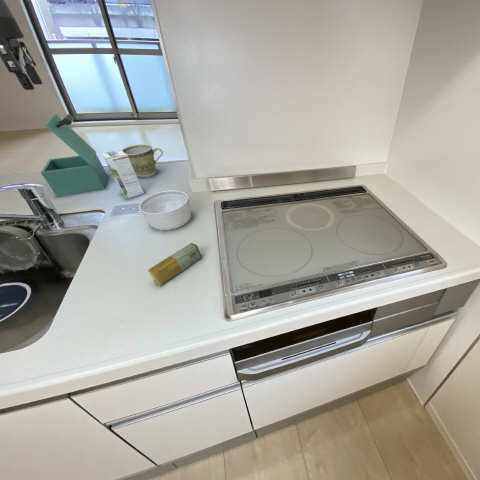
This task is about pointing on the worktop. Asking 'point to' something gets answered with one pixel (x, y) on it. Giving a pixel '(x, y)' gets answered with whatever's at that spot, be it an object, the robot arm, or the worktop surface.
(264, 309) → the worktop surface
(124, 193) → the syrup box
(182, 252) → the medication box
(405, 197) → the worktop surface
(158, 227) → the ramekin
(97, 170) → the teal box
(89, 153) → the teal box lid
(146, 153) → the ceramic cup
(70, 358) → the worktop surface
